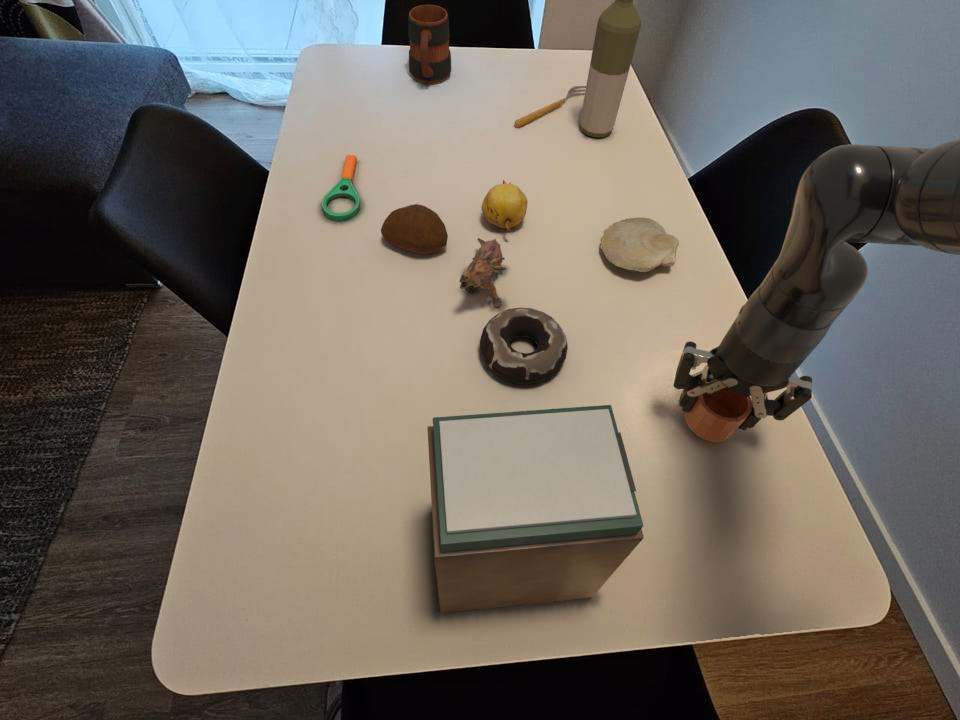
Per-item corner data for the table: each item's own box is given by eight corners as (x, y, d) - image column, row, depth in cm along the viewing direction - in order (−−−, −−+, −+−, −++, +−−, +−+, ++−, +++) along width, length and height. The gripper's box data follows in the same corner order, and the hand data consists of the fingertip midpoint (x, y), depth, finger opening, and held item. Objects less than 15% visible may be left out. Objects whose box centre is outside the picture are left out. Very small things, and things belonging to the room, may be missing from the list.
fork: (520, 123, 106) (593, 85, 113) (514, 117, 106) (587, 79, 114) (517, 133, 108) (589, 95, 116) (511, 127, 108) (583, 89, 116)
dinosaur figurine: (499, 322, 81) (504, 277, 73) (458, 317, 81) (459, 271, 73) (509, 254, 88) (514, 207, 81) (472, 249, 89) (473, 202, 81)
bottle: (614, 121, 110) (660, -61, 85) (613, 143, 106) (661, -42, 81) (578, 117, 110) (613, -66, 86) (576, 138, 106) (612, -47, 82)
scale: (607, 416, 49) (613, 400, 47) (638, 534, 44) (647, 523, 41) (433, 428, 48) (432, 413, 46) (441, 552, 42) (440, 542, 40)
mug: (403, 92, 113) (399, 31, 104) (412, 61, 120) (409, 1, 110) (447, 96, 113) (446, 35, 103) (453, 64, 120) (453, 4, 110)
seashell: (584, 241, 91) (587, 227, 88) (643, 219, 94) (648, 206, 92) (626, 291, 85) (631, 277, 83) (688, 266, 88) (694, 253, 86)
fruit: (534, 216, 85) (532, 173, 91) (490, 205, 84) (491, 162, 89) (518, 247, 91) (517, 205, 96) (477, 238, 89) (478, 195, 95)
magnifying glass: (357, 222, 91) (355, 214, 90) (319, 220, 91) (317, 212, 90) (369, 163, 100) (368, 155, 99) (335, 162, 100) (333, 153, 98)
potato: (389, 223, 91) (385, 187, 86) (453, 233, 91) (453, 198, 85) (377, 253, 87) (372, 218, 82) (443, 264, 87) (443, 229, 81)
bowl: (737, 407, 72) (754, 386, 68) (732, 448, 69) (749, 428, 65) (688, 392, 73) (702, 370, 69) (681, 432, 70) (695, 411, 66)
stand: (572, 497, 66) (610, 412, 50) (592, 597, 60) (644, 538, 43) (434, 509, 65) (427, 426, 48) (440, 613, 58) (434, 557, 42)
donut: (471, 326, 80) (472, 308, 77) (551, 314, 82) (555, 296, 78) (489, 396, 74) (491, 379, 70) (576, 381, 75) (581, 364, 72)
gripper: (697, 337, 55) (649, 421, 69) (852, 382, 53) (771, 460, 67) (707, 284, 60) (660, 373, 73) (851, 324, 57) (775, 408, 71)
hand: (713, 414), depth 70 cm, fingers closed on bowl, 6 cm apart
